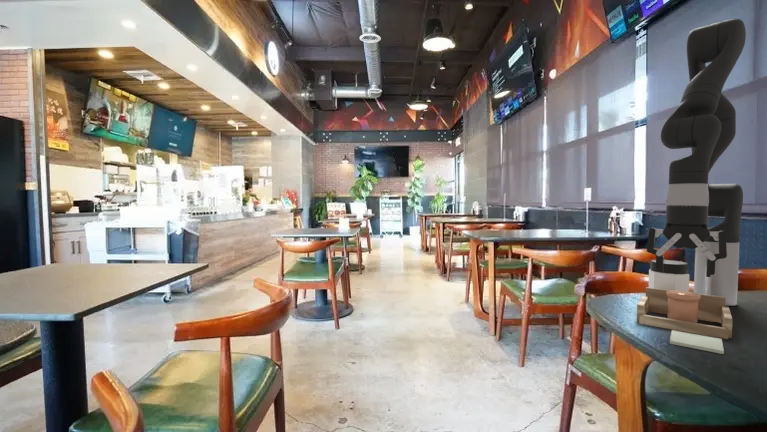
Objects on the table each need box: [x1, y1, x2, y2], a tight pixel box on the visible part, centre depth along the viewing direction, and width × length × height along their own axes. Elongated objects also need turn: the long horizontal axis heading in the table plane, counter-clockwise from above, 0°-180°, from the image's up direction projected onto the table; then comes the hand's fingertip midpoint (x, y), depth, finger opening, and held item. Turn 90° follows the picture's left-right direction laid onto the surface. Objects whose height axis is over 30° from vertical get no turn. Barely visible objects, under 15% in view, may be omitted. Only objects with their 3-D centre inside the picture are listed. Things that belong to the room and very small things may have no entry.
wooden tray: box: [636, 286, 733, 340], centre depth 88 cm, size 14×16×6 cm
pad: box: [669, 329, 725, 355], centre depth 75 cm, size 8×8×1 cm
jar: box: [648, 259, 691, 292], centre depth 102 cm, size 9×8×12 cm
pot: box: [666, 290, 701, 323], centre depth 88 cm, size 6×6×7 cm
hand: (683, 274), depth 87 cm, fingers open, 8 cm apart
